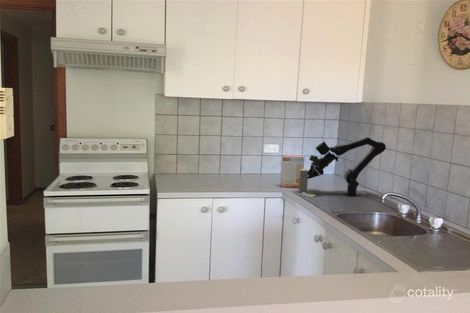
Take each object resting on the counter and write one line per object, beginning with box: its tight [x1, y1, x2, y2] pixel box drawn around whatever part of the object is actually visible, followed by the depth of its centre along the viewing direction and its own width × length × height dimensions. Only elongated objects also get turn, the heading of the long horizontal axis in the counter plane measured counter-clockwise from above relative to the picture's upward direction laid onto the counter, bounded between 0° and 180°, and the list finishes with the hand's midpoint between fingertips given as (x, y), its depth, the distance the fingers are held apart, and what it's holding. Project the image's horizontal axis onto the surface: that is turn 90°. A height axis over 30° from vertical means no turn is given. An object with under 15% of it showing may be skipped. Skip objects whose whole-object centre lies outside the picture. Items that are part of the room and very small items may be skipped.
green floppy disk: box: [299, 192, 316, 198], centre depth 257 cm, size 7×8×1 cm
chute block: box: [298, 168, 309, 193], centre depth 265 cm, size 4×4×14 cm
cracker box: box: [280, 154, 305, 189], centre depth 279 cm, size 14×6×21 cm, turn 92°
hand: (306, 176), depth 265 cm, fingers open, 9 cm apart
